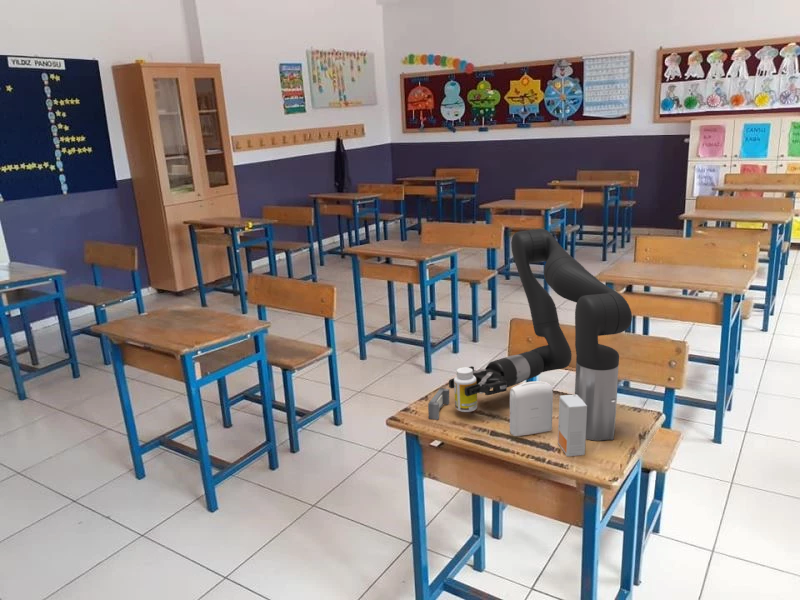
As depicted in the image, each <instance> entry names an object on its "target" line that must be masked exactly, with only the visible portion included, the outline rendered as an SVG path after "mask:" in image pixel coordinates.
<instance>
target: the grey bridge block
mask: <svg viewBox="0 0 800 600" xmlns="http://www.w3.org/2000/svg"><path fill="white" fill-rule="evenodd" d="M443 404H447V405H446V406H448V404H450V388H442V387H439V389H438V391H437V392H436V394H434V396H433V397H432V398H431V399H430V401H429V402H428V404H427V405H428V406H427V407H428V410H427V411H428V412H427V413H428V415H427V416H428V419H431V420H437V421H438V420H439V419H440V410H441V409H442V408H441V407H444V405H443ZM440 408H441V409H440Z"/></svg>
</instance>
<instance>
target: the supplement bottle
mask: <svg viewBox="0 0 800 600" xmlns="http://www.w3.org/2000/svg"><path fill="white" fill-rule="evenodd" d="M468 367H469V366H465V367H459V368H458V369H456V376H455V377H453V378H454V388H453V389H454V404H455V405H454V406H455V409H456V410H457V411H459V412H462V413H472V412H473V411H475V410H476V409H477V408H478V393H476V394H473V395H470V396H466V395H465V387H468V386H471V385H474V384H477V382H476V377H475V376H473V370H472V369H471V368H468Z"/></svg>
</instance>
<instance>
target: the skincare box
mask: <svg viewBox="0 0 800 600" xmlns="http://www.w3.org/2000/svg"><path fill="white" fill-rule="evenodd" d="M586 420H587V405H586V404H585V403H584V402H583V400H582V399H581V398H580V397H579V396H578V395H577V394H575V393H574V394H566V395H559V404H558V425H557V426H558V427H557V428H558V430H557V431H558V432H557V444H558V445H559V447H560V448H561V449H562V451H563V452H564V454H565V456H566V457H577V456H585V455H586V440H587V439H586Z"/></svg>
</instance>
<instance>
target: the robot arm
mask: <svg viewBox="0 0 800 600" xmlns="http://www.w3.org/2000/svg"><path fill="white" fill-rule="evenodd" d="M510 246H511V252H512V257H513V261H514V263H515V267H516V270H517V273H518V276H519V278H520V282H521V285H522V287H523V290H524V293H525V296H526V299H527V303H528V306H529V311H530V316H531V320H532V321H531V322H532V326H533V331H534V334H535V336H537V337H541V338H544V339H545V341H546V343H547V344H545V345H542V346H539V347H536V348H533V349H531V350H529V351H524V352H521V353H519V354H513V355H508V356H506V357H505V356H504V357H502V358H498V359H496V360H493V361H490V362H489V363H488V364H487V365H486V367H485V368H482V369H477V370H476V369H475V367H474V366H467V367H468V368H471V369H472V370H473V376H475V377H476V382H477V384H474V385H471V386H468V387H465V395H466V396H470V395H473V394H476V393H477V394H481V395H482V394H485V396H492V395H495V394H496V395H497V394H500V393H503V392H507V391H508V390H507V389H508V388H510V387H514V386H517V385H519V384H522V383H523V382H524V381H527V380H530V379H532V378H536V377H538V376H539V375H541V374H542V373H546V372H550V371H555V370H562V369H566V368H567V367H569V366H570V364H571V362H572V358H573V357H572V355H573V354H572V350H571V346H570V345H569V343H568V342H569V341H567V338H566V336H565V334H564V332H563V330H562V328H561V326H560V322H559V321H560V320H559V316H558V310H557V307H556V303H555V301H554V299H553V298H552V296H551V295H550V293H549V292H548V291H547V290H546V289H545V288H544V286H543V285H542V284H541V283H540V282H539V281H538V279H537V278H536V277H535V275H534V273H533V271H532V268H531V264H534V263H541V262H545V264H544V268H543V277H544V281H545V282H546V284H547V285H548V286H549V287H550V288H551V289H552V291H554V292H555V293H556V294H557V295H558V296H560V297H562V298H563V299H566V300H568V301H571V302H573V303H576V304H575V308H574V309H575V310H574V330H575V331H574V332H575V333H574V334H575V335H574V336H575V337H574V338H575V339H574V347H575V355H576V359H575V360H576V361H575V377H574V378H575V381H574V382H575V384H574V395H575V394H577V395H578V396H579V397H580V398H581V399H582V400H583V402H584V403H585V404H586V405H587V420H586V440H590V441H606V440H614V439H615V438H614V437H615V431H616V417H617V416H616V415H617V402H618V380H619V365H620V363H619V362H620V355H619V352H618V351H617V350H616V349H614V348H613V347H611V346H608V345H604V344H601V343H599V337H600V336H611V335H612V336H613V335H618V334H621V333H623V332H627V330H628V329H629V328H630V326H631V325H632V321H633V315H632V310H631V307H630V305H629V303H628V302H627V300H626V299H625V297H624V296H623V295H622V294H620V293H619V292H617V291H616V290H615V289H613V288H612V287H610V286H608V285H607V284H605V283H603V282H602V281H600V280H599V279H598V278H597V277H596V276H594V275H593V274H592V273H591V272H590V271H589V270H587V269H586V268H585V267H584V266H583V265H582V264H581V263H580V262H579V261H577V260H576V259H575V258H574V257H573V256H572V255H571V254H569V252H567V250H566V249H564V248H563V247H562V245H561V244H560V243H559V241H558V240H557V239H556V238H555V237H554V235H553V234H552V233H551V232H550V231H549V230H547V229H544V228H537V229H536V228H535V229H529V230H522V231H521V230H520V231H517V232H514V233H513V235H512V237H511V243H510ZM454 378H455V377H453V378H450V379H449V380H448V387H449V389H454Z"/></svg>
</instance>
